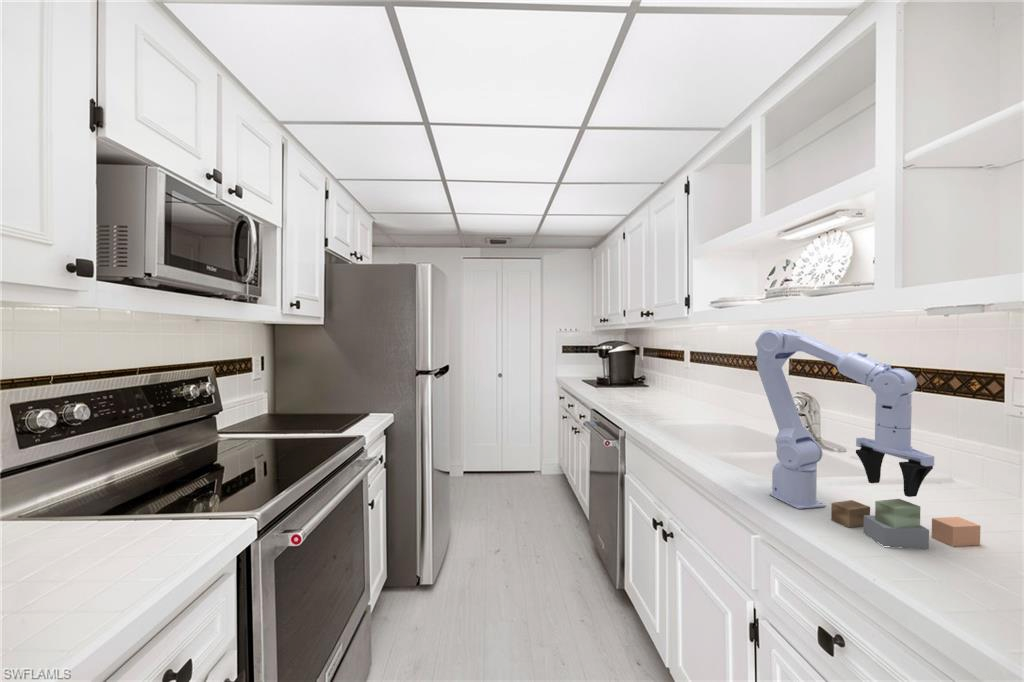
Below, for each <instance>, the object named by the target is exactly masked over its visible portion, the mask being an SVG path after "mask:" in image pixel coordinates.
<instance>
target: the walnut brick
mask: <svg viewBox="0 0 1024 682" xmlns="http://www.w3.org/2000/svg"><path fill="white" fill-rule="evenodd" d="M830 504H831V510H830V512H831V513H830V515H831V518H830V519H831V521H832V522H834V521H835V523H837V524H839V525H841V524H842V525H841V526H843V525H844V527H846V528H848V529H850V528H857V527H858V528H859V527H862V526H863V527H864V515H871V506H869V505H866V504H863V503H860V502H858V501H856V500H853V499H851V500H850V499H849V500H842V501H835V502H834V501H833V502H831V503H830Z"/></svg>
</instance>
